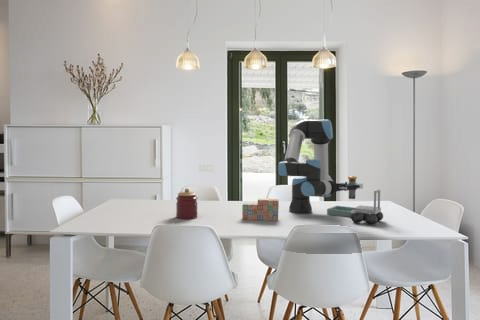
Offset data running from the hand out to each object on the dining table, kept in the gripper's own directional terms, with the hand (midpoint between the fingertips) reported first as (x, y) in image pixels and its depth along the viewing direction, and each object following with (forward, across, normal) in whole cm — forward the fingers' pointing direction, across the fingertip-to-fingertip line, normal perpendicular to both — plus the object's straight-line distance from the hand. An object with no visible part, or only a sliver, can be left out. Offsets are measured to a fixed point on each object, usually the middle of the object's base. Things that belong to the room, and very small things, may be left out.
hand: (359, 185), depth 207 cm
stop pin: (-5, 0, -7) cm, 9 cm away
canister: (-80, -62, -22) cm, 104 cm away
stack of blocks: (-43, -36, -22) cm, 61 cm away
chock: (+10, -14, -22) cm, 28 cm away
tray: (+15, -27, -22) cm, 38 cm away
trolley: (+9, -2, -22) cm, 24 cm away
